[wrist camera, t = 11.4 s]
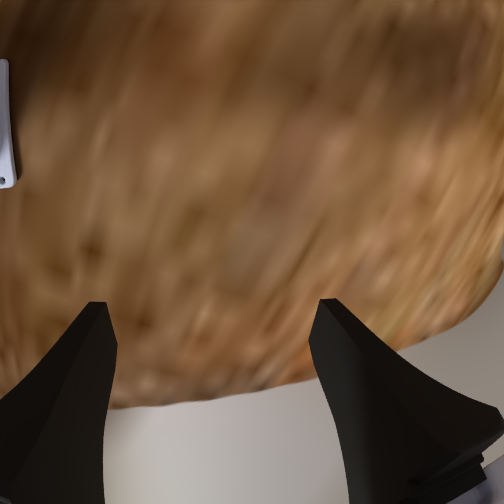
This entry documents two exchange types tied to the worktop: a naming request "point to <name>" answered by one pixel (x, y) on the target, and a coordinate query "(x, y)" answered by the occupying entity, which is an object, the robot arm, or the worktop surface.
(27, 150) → the worktop surface
